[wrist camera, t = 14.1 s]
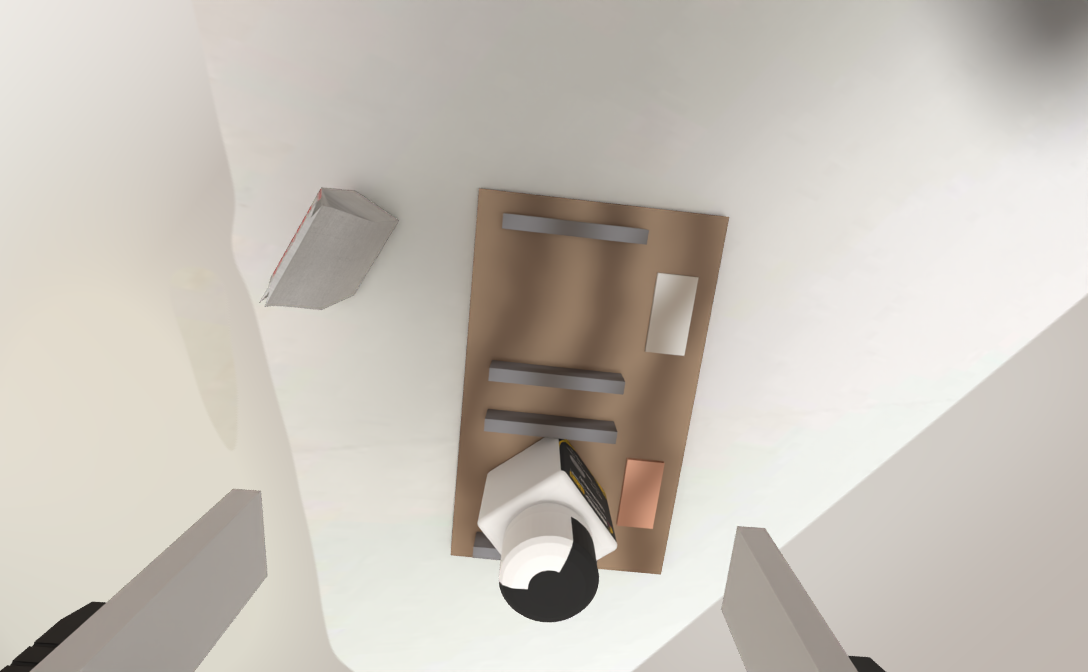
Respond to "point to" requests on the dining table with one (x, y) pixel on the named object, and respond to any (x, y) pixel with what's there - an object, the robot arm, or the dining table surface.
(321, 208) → the grey boxy piece
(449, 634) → the dining table surface
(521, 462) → the medicine bottle
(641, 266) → the stand
